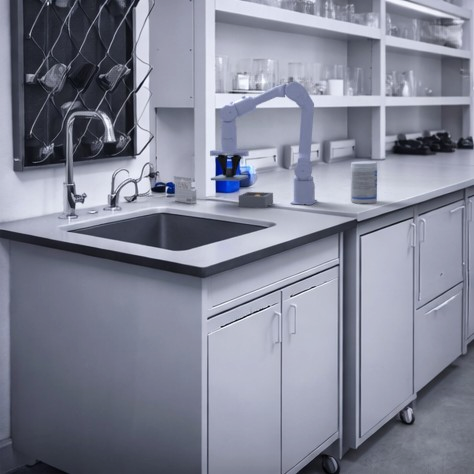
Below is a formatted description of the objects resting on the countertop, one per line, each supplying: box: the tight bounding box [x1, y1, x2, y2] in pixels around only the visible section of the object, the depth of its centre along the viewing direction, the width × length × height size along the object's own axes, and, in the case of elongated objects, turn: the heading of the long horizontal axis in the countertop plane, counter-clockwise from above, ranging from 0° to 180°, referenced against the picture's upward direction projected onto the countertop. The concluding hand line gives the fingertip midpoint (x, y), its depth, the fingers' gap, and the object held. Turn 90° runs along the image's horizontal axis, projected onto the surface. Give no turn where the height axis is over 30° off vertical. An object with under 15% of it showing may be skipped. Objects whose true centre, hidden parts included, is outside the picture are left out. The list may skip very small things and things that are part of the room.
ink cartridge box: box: [173, 175, 197, 205], centre depth 260 cm, size 2×11×10 cm, turn 41°
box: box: [238, 191, 274, 209], centre depth 250 cm, size 10×10×4 cm
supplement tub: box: [350, 160, 378, 204], centre depth 249 cm, size 10×10×15 cm
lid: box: [210, 167, 249, 182], centre depth 252 cm, size 11×11×4 cm
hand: (229, 175), depth 252 cm, fingers closed on lid, 3 cm apart
